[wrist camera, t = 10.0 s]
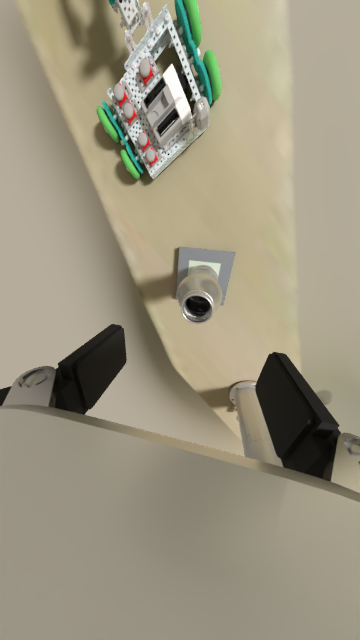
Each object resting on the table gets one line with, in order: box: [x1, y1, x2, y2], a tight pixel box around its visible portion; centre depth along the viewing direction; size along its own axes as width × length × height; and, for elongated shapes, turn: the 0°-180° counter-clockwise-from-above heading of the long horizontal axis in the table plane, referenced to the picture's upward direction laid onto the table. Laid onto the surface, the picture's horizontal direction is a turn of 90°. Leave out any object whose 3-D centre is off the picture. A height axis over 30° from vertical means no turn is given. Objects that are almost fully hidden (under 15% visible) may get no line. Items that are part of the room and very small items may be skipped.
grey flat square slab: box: [176, 247, 235, 305], centre depth 35 cm, size 12×12×2 cm
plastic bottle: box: [177, 265, 222, 324], centre depth 25 cm, size 6×7×20 cm
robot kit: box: [97, 0, 221, 180], centre depth 20 cm, size 19×25×9 cm
